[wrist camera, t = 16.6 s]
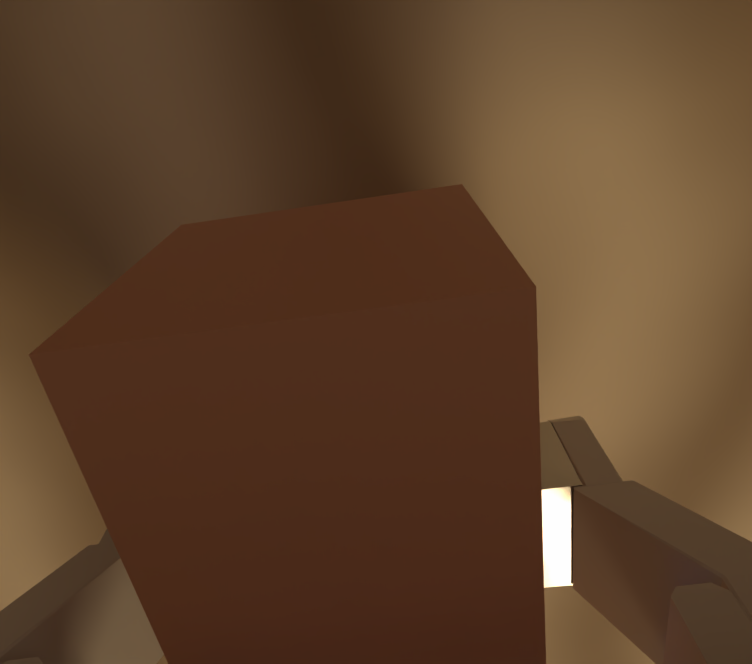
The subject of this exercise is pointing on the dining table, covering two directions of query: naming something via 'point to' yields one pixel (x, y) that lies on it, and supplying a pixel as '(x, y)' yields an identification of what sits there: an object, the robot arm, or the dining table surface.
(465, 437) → the terracotta block
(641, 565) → the robot arm
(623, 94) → the birch board
